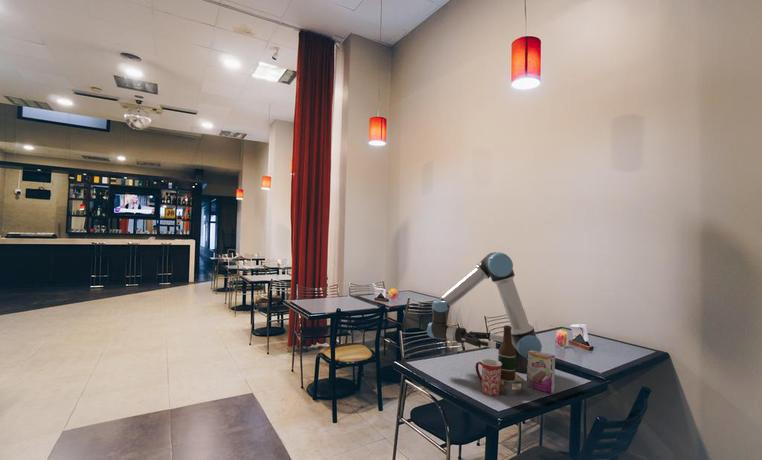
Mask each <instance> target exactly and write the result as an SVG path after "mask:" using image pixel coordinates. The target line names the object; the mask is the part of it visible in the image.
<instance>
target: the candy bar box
mask: <svg viewBox="0 0 762 460" xmlns="http://www.w3.org/2000/svg"><path fill="white" fill-rule="evenodd" d="M555 371H556V355H554V354H550V353H546V352H542V351H541V352H538V351H533V350H530V351H528V352H527V372H526V381H533V385H532V390H533V389H534V390H536V391H537V390H538V391H541V392H545V393H547V394H551V395H552V394H553V393H554V392H555V380H556V379H555V375H556V374H555V373H556V372H555Z"/></svg>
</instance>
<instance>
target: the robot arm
mask: <svg viewBox="0 0 762 460" xmlns="http://www.w3.org/2000/svg"><path fill="white" fill-rule="evenodd" d="M514 272H515V271H514V263H513V260H512V259H511V257H510V256H509V255H507V254H505V253H504V252H496V251H495V252H490V253H488V254H487V255H485V256H484V257H483V258H482V259H481V260H480V261H479V263H477V264H476V265H475V268H474V269H472V271H471V272H470V273H468V274H467V275H466V276H465V277H463V278H462V279H461V280H459V281H458V282H457V283H456V284H455V285H453V287H451V288H450V289H449V290H448V291H446V292H445V293H444V294H442V295H441V296H440V297H439V298H438V299H435V300H433V302H432V304H431V310H432V311H431V312H432V322H429V323H428V325H427V328H426V334H427V335H428V336H429V337H430V338H432V339H436V340H437V339H439V340H444V341H450V343H452V342H456V343H459V344H465V343H466V344H469V345H472V346H474V347H478V348H479V349H480V348H481V347H485V348H490V349H497V342H500V343H503V335H499V334H498V335H497V334H492V333H491V332H490V331H489V332H481V331H479V332H478V331H469V332H467V329H466V328H464V327H459V326H454V325H447V323H448V310H449V309H450V308H451V307H452V306H454V305H455V304H456V303H457V302H458V301H460V300H461V299H462V298H464V297H465V296H466V295H467V294H468V293H469V292H471V291H472V290H473V289H475V287H477V286H478V285H479V284H480V283H482V281H484V280H486V279H487V280H488V279H491V282H492V283H493V284H495V285H496V287H497V290H498V293H499V296H500V299H501V301H502V304H503V307H504V310H505V312H506V313H505V314H506V316H507V318H508V321H509V325H508V326H511V328H512V329H511V341H512V345H513V346H514V348H515V353H516V362H515V372H518V373H527V352H528V351H530V350H533V351H538V352H542V351H543V350H542V348H543V345H542V342H541V340H540V338H539V337H538V336H537V334H536V331H535V328H534V326H533V325H531V324H530V323H529V320H528V317H527V315H526V312H525V309H524V306H523V304H522V301H521V298H520V294H519V292H518V289H517V286H516V283H515V282H514V277H515V276H516V275H515V273H514Z"/></svg>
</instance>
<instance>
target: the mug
mask: <svg viewBox="0 0 762 460" xmlns="http://www.w3.org/2000/svg"><path fill="white" fill-rule="evenodd" d="M479 365H480V366H481V374H480V370H479ZM501 366H502V363H501V362H499V361H498V359H497V360H496V359H493V358H492V359H491V358H484V359H481V360H480V361H477V362H476V363H475V373H476V376H477V377H478V380H479V382H480V384H481V392H482V393H483V394H484V395H487V396H490V397H497V396H499V395H500V391H499V388H500V377H501Z"/></svg>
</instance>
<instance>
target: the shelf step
mask: <svg viewBox="0 0 762 460" xmlns="http://www.w3.org/2000/svg"><path fill="white" fill-rule="evenodd" d="M532 385H533V381H527V380H525V379H524V378H523V377H521V376H520V375H519V374H517V373H516V372H515V379H514V381H506V380H502V379H500V388H499V393H501V394H502V395H503V396H533V388H532Z"/></svg>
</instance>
